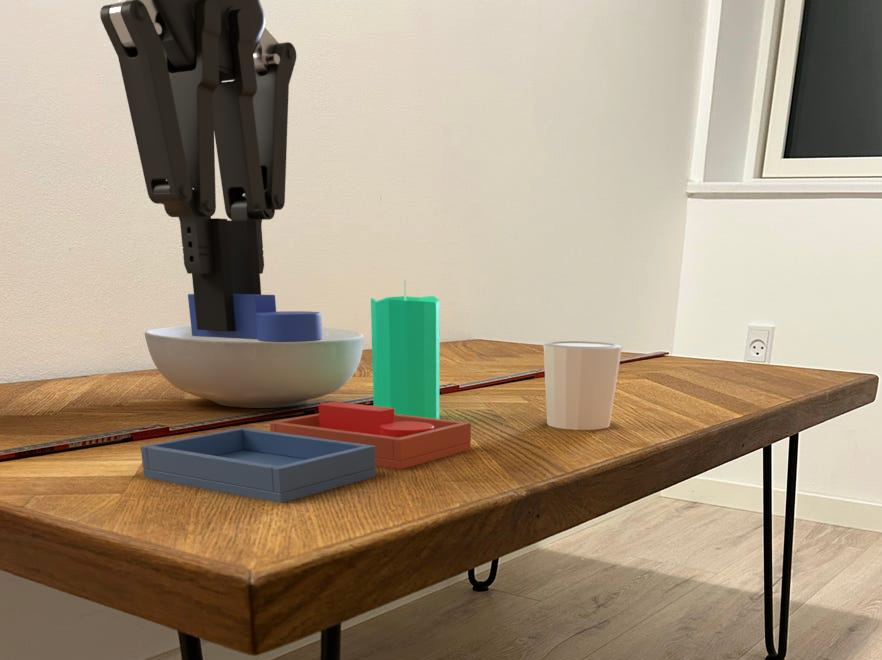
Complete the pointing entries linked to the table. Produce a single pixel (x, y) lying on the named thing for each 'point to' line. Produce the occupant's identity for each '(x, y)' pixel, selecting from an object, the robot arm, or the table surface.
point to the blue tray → (259, 463)
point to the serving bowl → (255, 366)
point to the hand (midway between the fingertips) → (230, 328)
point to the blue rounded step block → (264, 321)
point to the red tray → (391, 439)
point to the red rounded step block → (367, 420)
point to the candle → (406, 354)
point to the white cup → (580, 383)
